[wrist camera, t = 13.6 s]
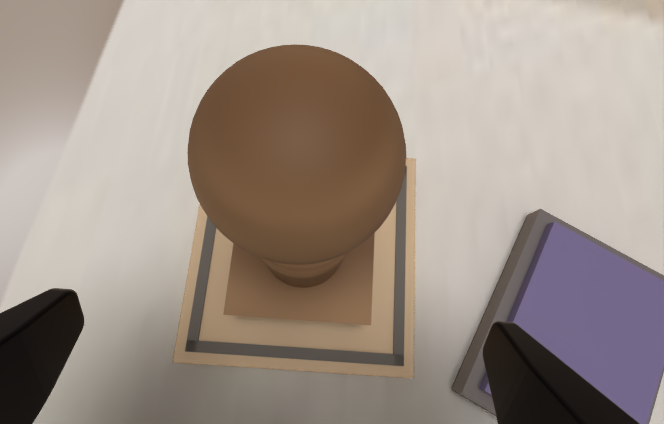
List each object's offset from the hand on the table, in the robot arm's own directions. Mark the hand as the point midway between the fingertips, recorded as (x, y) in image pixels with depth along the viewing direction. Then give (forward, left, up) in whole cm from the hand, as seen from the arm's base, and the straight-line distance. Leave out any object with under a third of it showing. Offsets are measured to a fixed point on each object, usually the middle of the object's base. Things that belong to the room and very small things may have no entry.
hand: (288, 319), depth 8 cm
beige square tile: (+2, +2, -11) cm, 11 cm away
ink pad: (+9, -10, -11) cm, 17 cm away
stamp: (+2, +2, -10) cm, 10 cm away
